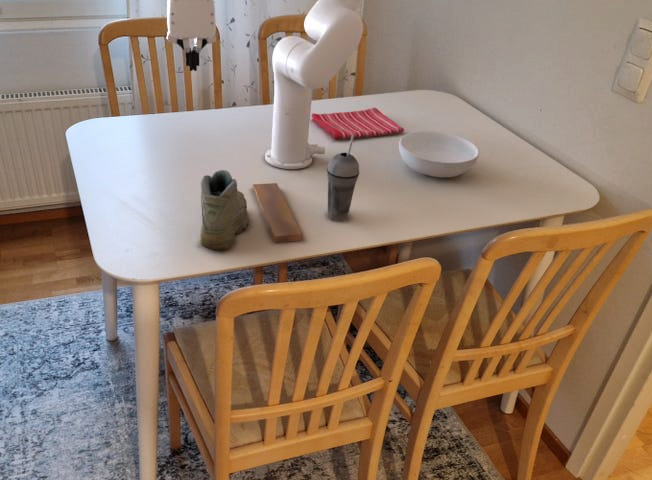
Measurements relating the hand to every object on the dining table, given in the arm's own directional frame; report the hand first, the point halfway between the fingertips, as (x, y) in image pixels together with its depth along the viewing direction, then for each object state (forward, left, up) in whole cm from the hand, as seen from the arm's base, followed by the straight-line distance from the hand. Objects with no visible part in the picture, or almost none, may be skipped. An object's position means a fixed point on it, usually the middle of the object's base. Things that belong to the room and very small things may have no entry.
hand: (192, 68), depth 142 cm
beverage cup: (-30, +23, -27) cm, 47 cm away
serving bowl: (-64, +2, -27) cm, 70 cm away
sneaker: (-3, +25, -27) cm, 37 cm away
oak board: (-16, +20, -27) cm, 37 cm away
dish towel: (-52, -28, -27) cm, 65 cm away
